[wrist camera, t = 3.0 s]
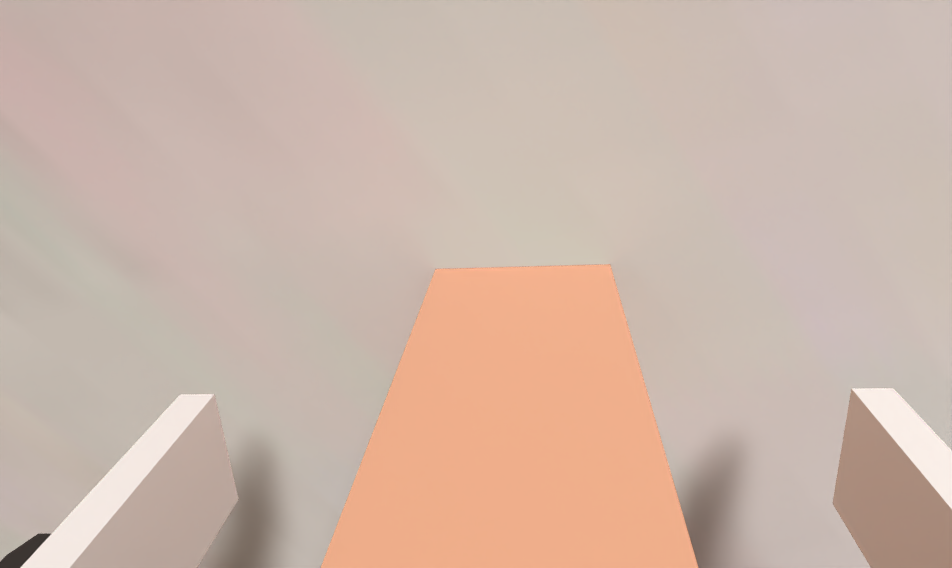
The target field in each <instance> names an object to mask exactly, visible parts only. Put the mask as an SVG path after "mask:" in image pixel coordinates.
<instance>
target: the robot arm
mask: <svg viewBox="0 0 952 568" xmlns="http://www.w3.org/2000/svg"><path fill="white" fill-rule="evenodd" d="M238 500H239V499H238V494H237V490H236V486H235V481H234V477H233V473H232V468H231V464H230V460H229V455H228V451H227V446H226V442H225V438H224V433H223V429H222V425H221V420H220V416H219V412H218V407H217V403H216V398H215V394H181V395H179V396H178V397H177V399H176V400H175V401H174V402H173V403H172V404H171V405H170V406H169V407H168V408H167V409H166V410H165V412H164V413H163V414H162V415H161V416H160V417H159V418H158V419H157V420H156V421H155V422H154V423H153V425H152V426H151V427H150V428H149V429H148V430H147V431H146V432H145V433H144V434H143V435H142V436H141V438H140V439H139V440H138V441H137V442H136V443H135V444H134V445H133V446H132V447H131V448H130V449H129V451H128V452H127V453H126V454H125V455H124V456H123V457H122V458H121V459H120V460H119V461H118V462H117V464H116V465H115V466H114V467H113V468H112V469H111V470H110V471H109V472H108V473H107V474H106V475H105V477H104V478H103V479H102V480H101V481H100V482H99V483H98V484H97V485H96V486H95V487H94V488H93V490H92V491H91V492H90V493H89V494H88V495H87V496H86V497H85V498H84V499H83V500H82V501H81V503H80V504H79V505H78V506H77V507H76V508H75V509H74V510H73V511H72V512H71V513H70V514H69V516H68V517H67V518H66V519H65V520H64V521H63V522H62V523H61V524H60V525H59V526H58V527H57V529H56V530H55V531H54V532H53V533H52V534H37V535H36V536H34V537H33V538H31V539H30V540H28V541H27V542H25V543H24V544H23V545H21V546H20V547H18V548H17V549H15V550H14V551H12V552H11V553H9V554H8V555H6V556H5V557H4V558H3V559H2V560H1V561H0V568H197V567H198V566H199V564H200V562H201V561H202V559H203V557H204V556H205V554H206V552H207V551H208V549H209V547H210V546H211V544H212V542H213V541H214V539H215V538H216V536H217V534H218V533H219V531H220V529H221V528H222V526H223V524H224V523H225V521H226V519H227V518H228V516H229V514H230V513H231V511H232V509H233V508H234V506H235V505H236V503H237V501H238ZM833 505H834V507H835V508H836V510H837V512H838V513H839V515H840V517H841V518H842V520H843V522H844V523H845V525H846V527H847V528H848V530H849V532H850V533H851V535H852V537H853V538H854V540H855V542H856V543H857V545H858V547H859V548H860V550H861V552H862V553H863V555H864V557H865V558H866V560H867V562H868V563H869V565H870V567H871V568H952V450H951V449H950V448H949V447H948V446H947V445H946V444H945V443H944V442H943V441H942V440H941V439H940V438H939V437H938V435H937V434H936V433H935V432H934V431H933V430H932V429H931V428H930V427H929V426H928V425H927V424H926V423H925V422H924V421H923V420H922V418H921V417H920V416H919V415H918V414H917V413H916V412H915V411H914V410H913V409H912V408H911V407H910V406H909V405H908V404H907V403H906V401H905V400H904V399H903V398H902V397H901V396H900V395H899V394H898V393H897V392H896V391H895V390H894V389H893V388H864V389H851V395H850V401H849V407H848V413H847V419H846V425H845V431H844V437H843V443H842V449H841V455H840V462H839V468H838V474H837V480H836V486H835V492H834V498H833Z"/></svg>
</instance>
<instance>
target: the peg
mask: <svg viewBox="0 0 952 568" xmlns="http://www.w3.org/2000/svg"><path fill="white" fill-rule="evenodd" d="M321 568H698V565H697V561H696V558H695V554H694V551H693V547H692V544H691V540H690V537H689V534H688V530H687V527H686V523H685V520H684V516H683V513H682V510H681V506H680V503H679V499H678V496H677V492H676V489H675V486H674V482H673V479H672V475H671V472H670V468H669V465H668V462H667V458H666V455H665V451H664V448H663V444H662V441H661V438H660V434H659V431H658V427H657V424H656V420H655V417H654V414H653V410H652V407H651V403H650V400H649V396H648V393H647V389H646V386H645V383H644V379H643V376H642V372H641V369H640V365H639V362H638V359H637V355H636V352H635V348H634V345H633V341H632V338H631V335H630V331H629V328H628V324H627V321H626V317H625V314H624V311H623V307H622V304H621V300H620V297H619V293H618V290H617V287H616V283H615V280H614V276H613V273H612V269H611V266H610V265H572V266H534V267H497V268H459V269H436V270H435V272H434V275H433V277H432V280H431V282H430V285H429V288H428V290H427V293H426V295H425V298H424V301H423V303H422V306H421V308H420V311H419V314H418V316H417V319H416V321H415V324H414V327H413V329H412V332H411V334H410V337H409V340H408V342H407V345H406V347H405V350H404V353H403V355H402V358H401V360H400V363H399V366H398V368H397V371H396V373H395V376H394V379H393V381H392V384H391V386H390V389H389V392H388V394H387V397H386V399H385V402H384V405H383V407H382V410H381V412H380V415H379V418H378V420H377V423H376V425H375V428H374V431H373V433H372V436H371V438H370V441H369V444H368V446H367V449H366V451H365V454H364V457H363V459H362V462H361V464H360V467H359V470H358V472H357V475H356V477H355V480H354V483H353V485H352V488H351V490H350V493H349V496H348V498H347V501H346V503H345V506H344V509H343V511H342V514H341V516H340V519H339V522H338V524H337V527H336V529H335V532H334V535H333V537H332V540H331V542H330V545H329V548H328V550H327V553H326V555H325V558H324V561H323V563H322V566H321Z"/></svg>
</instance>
